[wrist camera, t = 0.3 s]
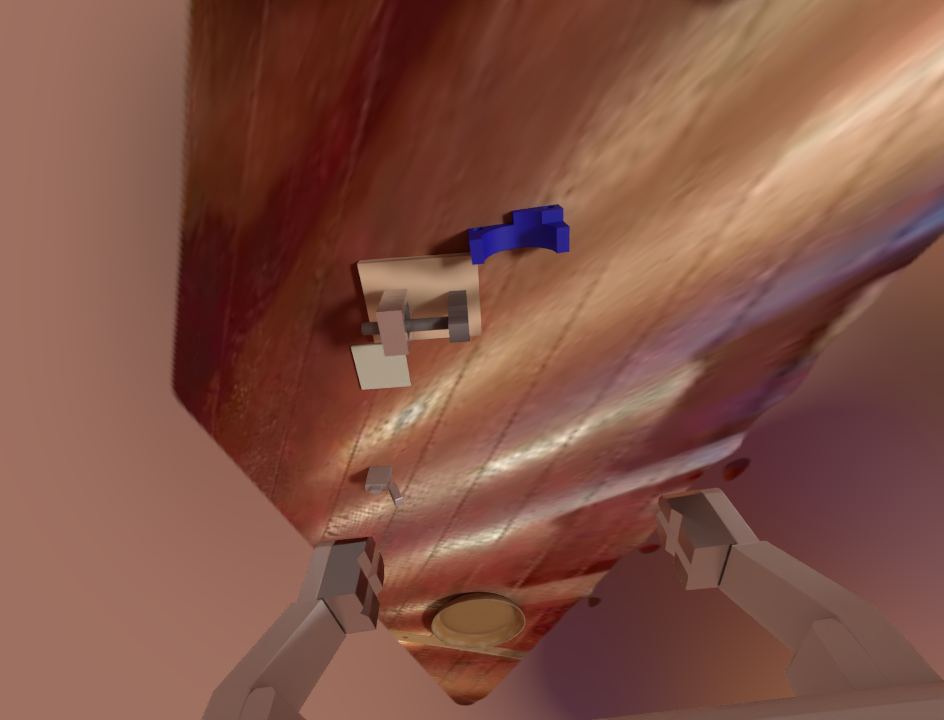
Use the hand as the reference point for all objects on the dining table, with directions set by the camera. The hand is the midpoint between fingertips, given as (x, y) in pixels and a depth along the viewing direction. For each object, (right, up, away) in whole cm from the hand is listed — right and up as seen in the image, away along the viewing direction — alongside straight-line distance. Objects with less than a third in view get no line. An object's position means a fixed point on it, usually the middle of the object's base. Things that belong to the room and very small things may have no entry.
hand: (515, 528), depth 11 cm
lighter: (-17, -16, +63) cm, 67 cm away
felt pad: (-15, +4, +51) cm, 54 cm away
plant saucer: (0, -61, +92) cm, 111 cm away
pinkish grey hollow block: (-11, +12, +42) cm, 45 cm away
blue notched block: (+4, +22, +41) cm, 47 cm away
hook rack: (-8, +14, +45) cm, 48 cm away
